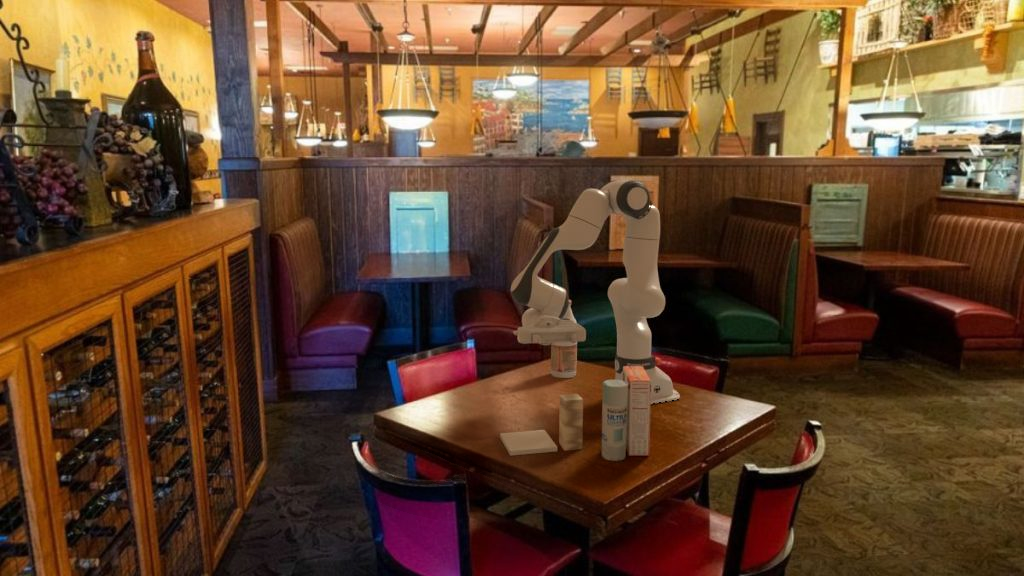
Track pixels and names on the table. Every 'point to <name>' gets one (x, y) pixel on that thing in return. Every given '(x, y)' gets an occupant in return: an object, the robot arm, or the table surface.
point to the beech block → (571, 422)
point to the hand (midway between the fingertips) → (558, 340)
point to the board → (528, 442)
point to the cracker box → (637, 410)
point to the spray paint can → (614, 419)
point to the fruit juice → (564, 354)
